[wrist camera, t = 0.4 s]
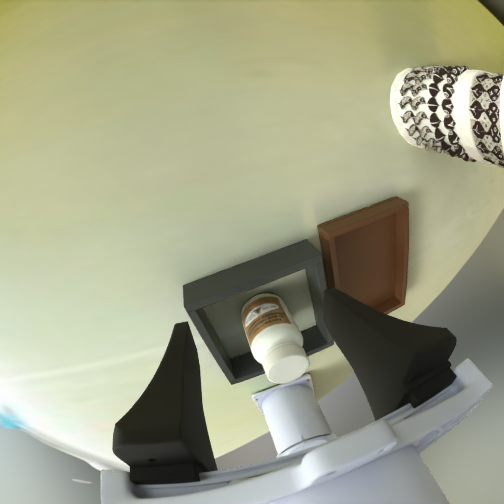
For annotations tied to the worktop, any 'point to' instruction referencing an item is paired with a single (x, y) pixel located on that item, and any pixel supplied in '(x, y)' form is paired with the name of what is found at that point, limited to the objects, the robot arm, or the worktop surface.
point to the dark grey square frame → (248, 279)
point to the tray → (369, 254)
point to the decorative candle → (451, 111)
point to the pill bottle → (274, 338)
